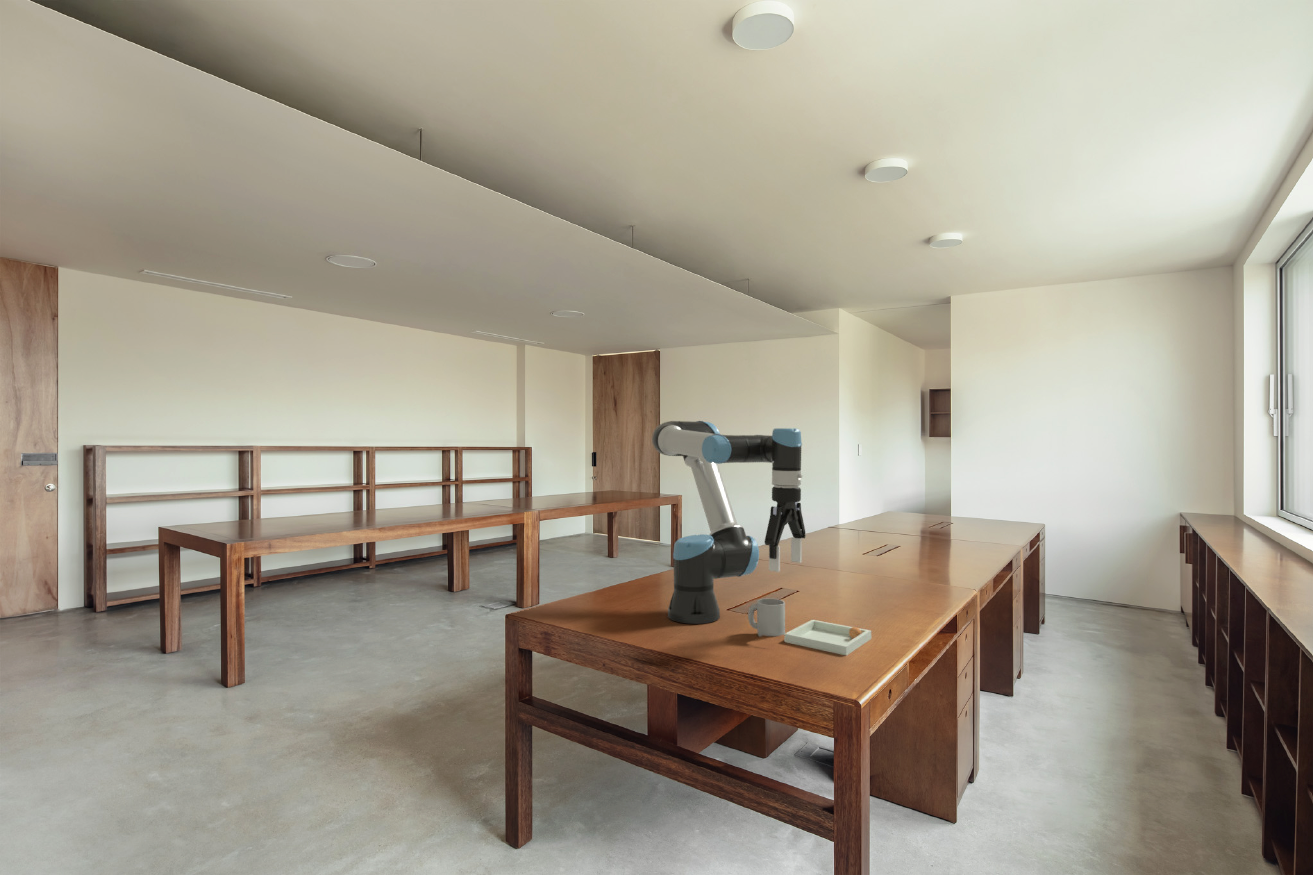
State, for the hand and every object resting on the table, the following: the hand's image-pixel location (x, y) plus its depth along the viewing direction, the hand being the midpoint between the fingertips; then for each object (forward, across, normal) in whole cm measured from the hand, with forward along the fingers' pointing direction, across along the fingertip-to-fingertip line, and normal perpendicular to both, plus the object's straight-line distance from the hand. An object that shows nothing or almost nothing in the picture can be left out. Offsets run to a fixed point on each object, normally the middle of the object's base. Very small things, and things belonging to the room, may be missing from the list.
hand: (785, 566), depth 162 cm
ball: (+17, +4, -18) cm, 24 cm away
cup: (+18, -4, +4) cm, 19 cm away
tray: (+18, -1, -12) cm, 22 cm away
